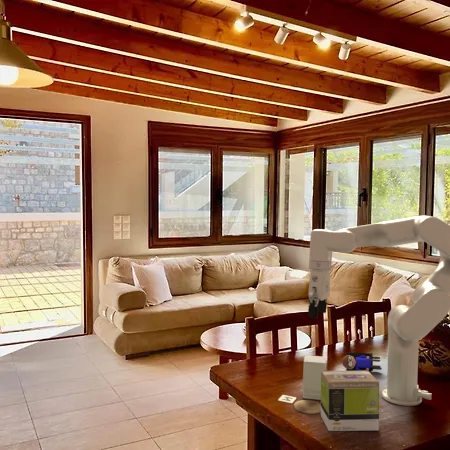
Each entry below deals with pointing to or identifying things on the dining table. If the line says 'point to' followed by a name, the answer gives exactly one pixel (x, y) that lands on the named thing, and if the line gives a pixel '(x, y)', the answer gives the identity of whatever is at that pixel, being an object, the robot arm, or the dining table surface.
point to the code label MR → (287, 399)
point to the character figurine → (360, 361)
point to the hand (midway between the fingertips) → (317, 315)
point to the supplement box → (313, 376)
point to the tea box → (350, 400)
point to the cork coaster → (307, 406)
